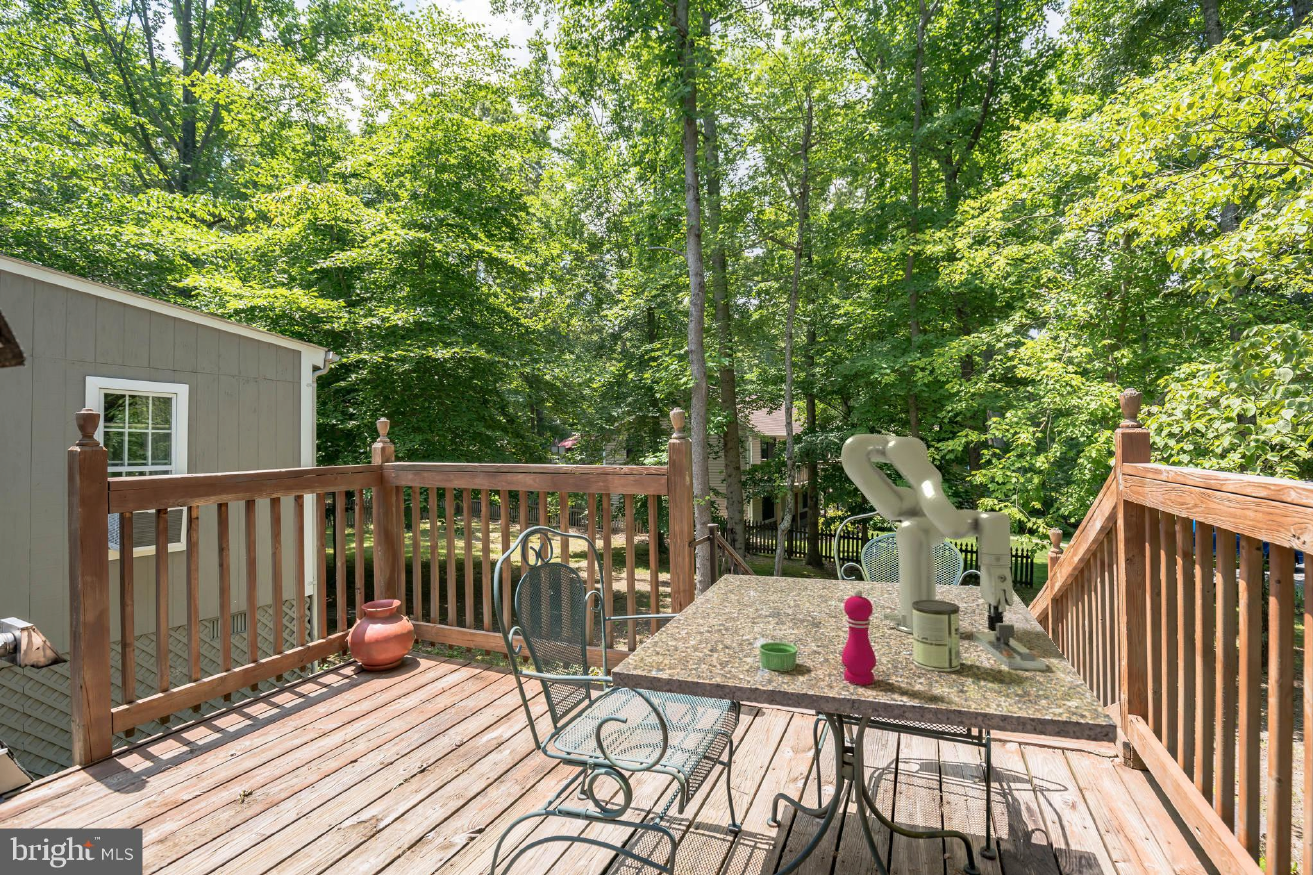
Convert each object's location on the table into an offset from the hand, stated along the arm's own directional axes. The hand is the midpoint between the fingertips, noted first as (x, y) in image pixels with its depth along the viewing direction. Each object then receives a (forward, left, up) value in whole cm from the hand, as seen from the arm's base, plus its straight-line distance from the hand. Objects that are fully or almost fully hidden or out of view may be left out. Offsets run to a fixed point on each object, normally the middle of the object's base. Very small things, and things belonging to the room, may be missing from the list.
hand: (995, 630), depth 169 cm
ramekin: (-57, -23, -4) cm, 62 cm away
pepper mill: (-40, -31, -4) cm, 51 cm away
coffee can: (-20, -18, -4) cm, 27 cm away
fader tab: (0, -6, -1) cm, 6 cm away
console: (-1, -8, -4) cm, 9 cm away
